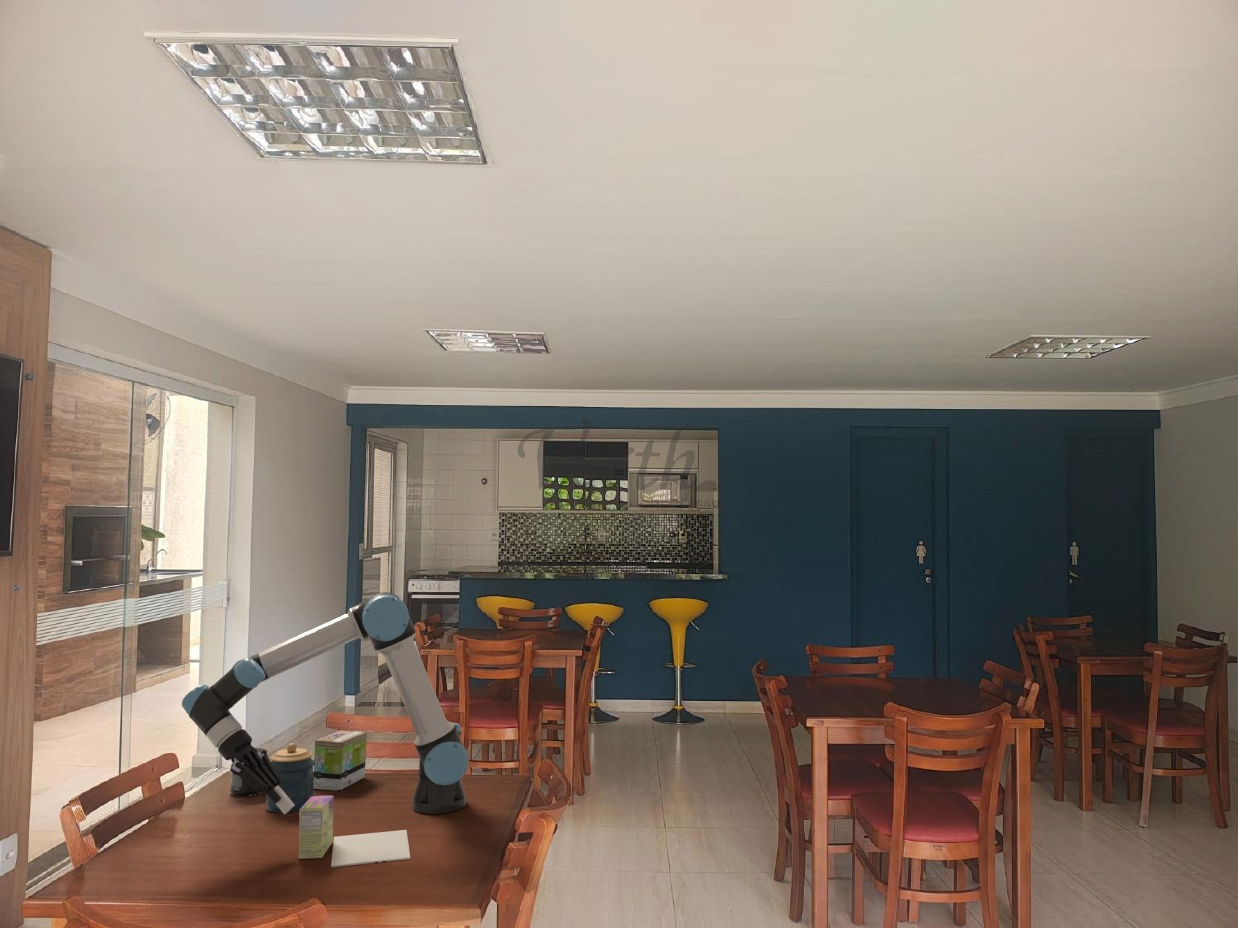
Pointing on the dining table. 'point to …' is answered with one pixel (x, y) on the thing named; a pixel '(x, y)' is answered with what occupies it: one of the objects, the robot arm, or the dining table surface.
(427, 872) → the dining table surface
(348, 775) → the tea box
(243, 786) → the supplement container
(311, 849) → the box
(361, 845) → the mat
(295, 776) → the canister
